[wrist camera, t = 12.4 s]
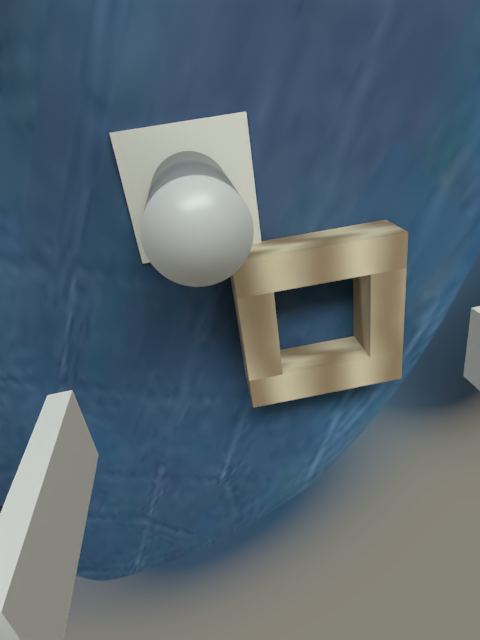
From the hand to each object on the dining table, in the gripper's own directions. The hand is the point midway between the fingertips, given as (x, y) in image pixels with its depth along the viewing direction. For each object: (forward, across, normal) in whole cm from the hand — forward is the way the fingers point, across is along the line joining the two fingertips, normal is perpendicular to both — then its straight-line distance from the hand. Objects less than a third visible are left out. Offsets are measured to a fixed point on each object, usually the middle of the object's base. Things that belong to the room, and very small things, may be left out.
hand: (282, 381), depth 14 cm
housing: (+24, +8, -10) cm, 27 cm away
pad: (+24, -1, +2) cm, 24 cm away
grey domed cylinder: (+23, -2, +2) cm, 23 cm away
